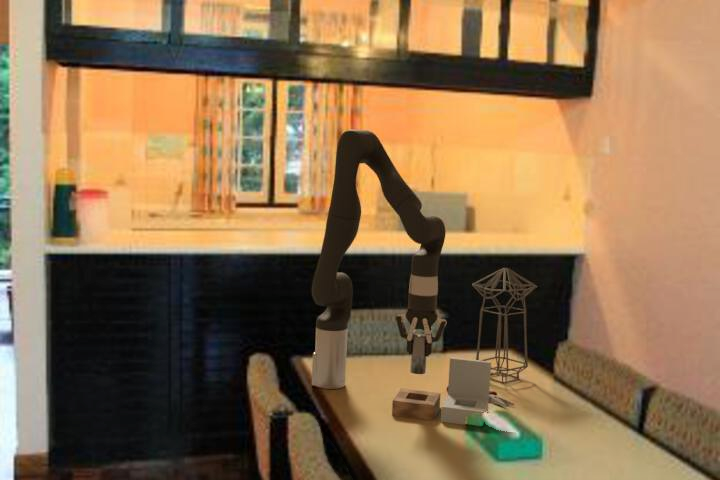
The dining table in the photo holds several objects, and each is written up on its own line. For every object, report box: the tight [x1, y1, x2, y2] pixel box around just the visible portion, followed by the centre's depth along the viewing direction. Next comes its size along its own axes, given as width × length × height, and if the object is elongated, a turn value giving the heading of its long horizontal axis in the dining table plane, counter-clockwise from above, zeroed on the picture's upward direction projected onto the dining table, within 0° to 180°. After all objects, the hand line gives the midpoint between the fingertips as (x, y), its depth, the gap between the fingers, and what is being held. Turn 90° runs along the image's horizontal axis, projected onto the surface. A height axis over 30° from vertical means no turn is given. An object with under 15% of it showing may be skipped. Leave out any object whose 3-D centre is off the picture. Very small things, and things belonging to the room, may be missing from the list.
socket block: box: [391, 387, 441, 421], centre depth 207 cm, size 11×11×4 cm
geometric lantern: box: [471, 267, 538, 384], centre depth 239 cm, size 16×16×35 cm
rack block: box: [440, 356, 492, 426], centre depth 203 cm, size 11×12×14 cm
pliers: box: [446, 386, 515, 408], centre depth 221 cm, size 12×20×3 cm, turn 39°
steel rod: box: [409, 333, 427, 375], centre depth 205 cm, size 4×4×10 cm
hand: (419, 354), depth 205 cm, fingers closed on steel rod, 4 cm apart
